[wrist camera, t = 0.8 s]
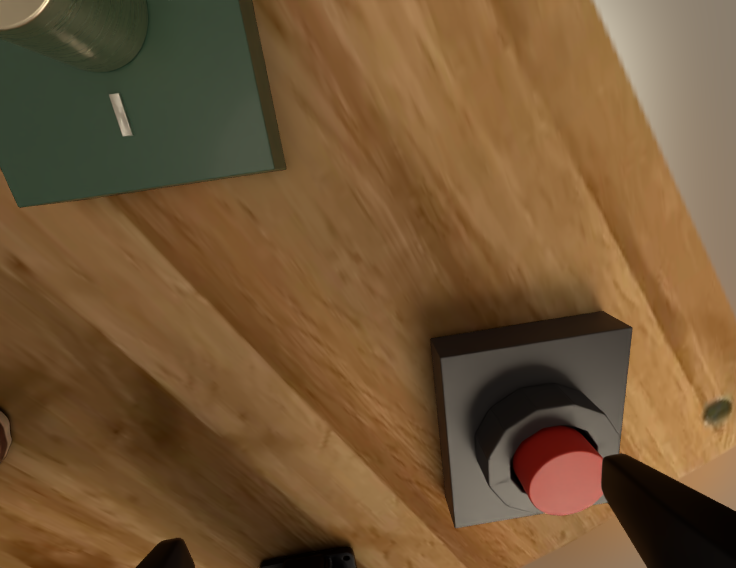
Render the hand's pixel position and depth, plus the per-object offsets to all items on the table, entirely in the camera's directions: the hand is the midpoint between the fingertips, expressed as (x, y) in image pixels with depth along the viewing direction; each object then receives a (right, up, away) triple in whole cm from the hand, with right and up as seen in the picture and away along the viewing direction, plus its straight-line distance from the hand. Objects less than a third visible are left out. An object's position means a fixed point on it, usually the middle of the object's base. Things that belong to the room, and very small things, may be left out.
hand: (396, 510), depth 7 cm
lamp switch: (+9, -3, +14) cm, 17 cm away
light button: (+9, -4, +11) cm, 15 cm away
